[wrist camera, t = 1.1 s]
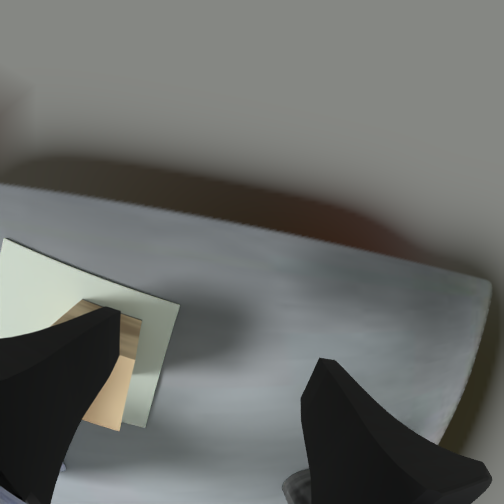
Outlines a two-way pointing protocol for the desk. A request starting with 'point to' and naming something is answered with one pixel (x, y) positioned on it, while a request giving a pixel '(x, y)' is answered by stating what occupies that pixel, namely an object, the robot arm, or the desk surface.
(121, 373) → the tan block
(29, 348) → the robot arm
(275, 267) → the desk surface
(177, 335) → the desk surface
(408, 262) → the desk surface
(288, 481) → the beverage cup
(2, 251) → the mat
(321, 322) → the desk surface
